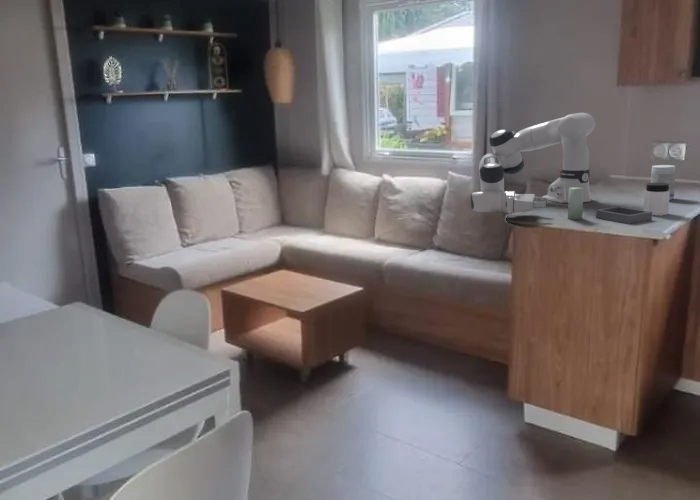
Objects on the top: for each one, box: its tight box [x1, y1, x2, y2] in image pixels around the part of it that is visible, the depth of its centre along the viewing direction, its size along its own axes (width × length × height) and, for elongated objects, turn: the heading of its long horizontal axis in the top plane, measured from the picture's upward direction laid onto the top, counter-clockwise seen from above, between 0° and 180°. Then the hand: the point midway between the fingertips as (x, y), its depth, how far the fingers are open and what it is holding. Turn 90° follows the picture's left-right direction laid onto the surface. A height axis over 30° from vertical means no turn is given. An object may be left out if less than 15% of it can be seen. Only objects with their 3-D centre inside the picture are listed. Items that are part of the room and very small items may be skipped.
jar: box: [643, 182, 670, 217], centre depth 258 cm, size 9×8×12 cm
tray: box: [595, 206, 653, 225], centre depth 252 cm, size 16×12×3 cm
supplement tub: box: [650, 164, 676, 201], centre depth 288 cm, size 10×10×15 cm
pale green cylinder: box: [567, 187, 584, 221], centre depth 256 cm, size 5×5×12 cm
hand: (546, 202), depth 259 cm, fingers open, 8 cm apart
